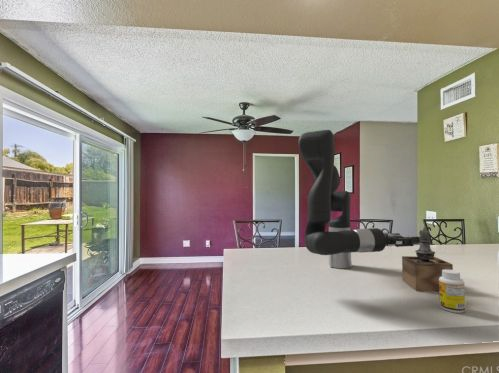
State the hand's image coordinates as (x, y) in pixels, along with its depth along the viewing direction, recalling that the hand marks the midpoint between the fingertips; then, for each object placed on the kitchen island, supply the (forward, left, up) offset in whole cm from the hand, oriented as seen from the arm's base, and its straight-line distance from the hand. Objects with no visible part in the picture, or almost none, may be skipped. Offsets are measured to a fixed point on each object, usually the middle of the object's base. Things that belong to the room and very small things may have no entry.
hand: (408, 238), depth 93 cm
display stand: (+6, +2, -16) cm, 18 cm away
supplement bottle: (+4, -18, -17) cm, 25 cm away
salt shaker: (+6, +2, -9) cm, 11 cm away
